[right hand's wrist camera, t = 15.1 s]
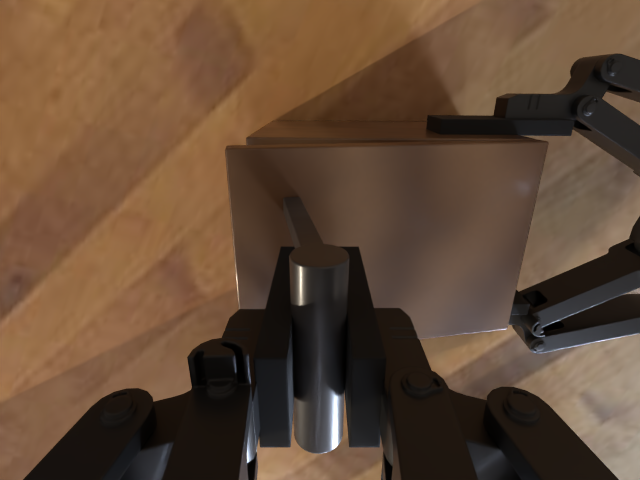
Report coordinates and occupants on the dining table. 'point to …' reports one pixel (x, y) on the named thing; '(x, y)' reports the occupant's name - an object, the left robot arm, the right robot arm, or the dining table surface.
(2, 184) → the dining table surface
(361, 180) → the lid
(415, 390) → the right robot arm
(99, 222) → the dining table surface
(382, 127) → the chest
